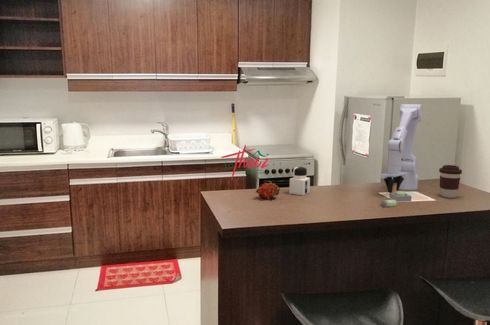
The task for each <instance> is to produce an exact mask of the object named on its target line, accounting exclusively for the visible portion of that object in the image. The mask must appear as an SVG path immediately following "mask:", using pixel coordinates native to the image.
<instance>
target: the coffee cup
mask: <svg viewBox="0 0 490 325" xmlns="http://www.w3.org/2000/svg"><path fill="white" fill-rule="evenodd" d="M438 172H439V174H440V175H439V192H440V193H439V194H440V197H442V198H446V199H447V198H449V199H455V198H457V197H458V196H457V195H458V190H459V188H460V182H461V181H460V180H461V175H462V174H463V169H460V167H459V166H458V165H453V164H444V165H442V167H439V169H438Z"/></svg>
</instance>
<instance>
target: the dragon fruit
mask: <svg viewBox="0 0 490 325" xmlns="http://www.w3.org/2000/svg"><path fill="white" fill-rule="evenodd" d="M280 190H281V189H280V186H278V184H277V183H272V182H271V181H269V182H268V183H267V182H263V184H260V185H259V187H258V188H257V189H256V191H255V193H256V194H257V197H259V198H261V199H267V200H270V199H274V197H276V196H277V197H278V196H279V194H280Z"/></svg>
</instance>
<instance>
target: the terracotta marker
mask: <svg viewBox="0 0 490 325" xmlns="http://www.w3.org/2000/svg"><path fill="white" fill-rule="evenodd" d="M396 189H397V183H396V182H394V183H393V187H392V193H396ZM389 195H390V192H389Z"/></svg>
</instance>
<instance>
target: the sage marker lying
mask: <svg viewBox="0 0 490 325" xmlns="http://www.w3.org/2000/svg"><path fill="white" fill-rule="evenodd" d="M379 204H380V205H381V208H382V209H383V208H389V207H397V205H398V202H396V200H391V199H381V200H380V203H379Z"/></svg>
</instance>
